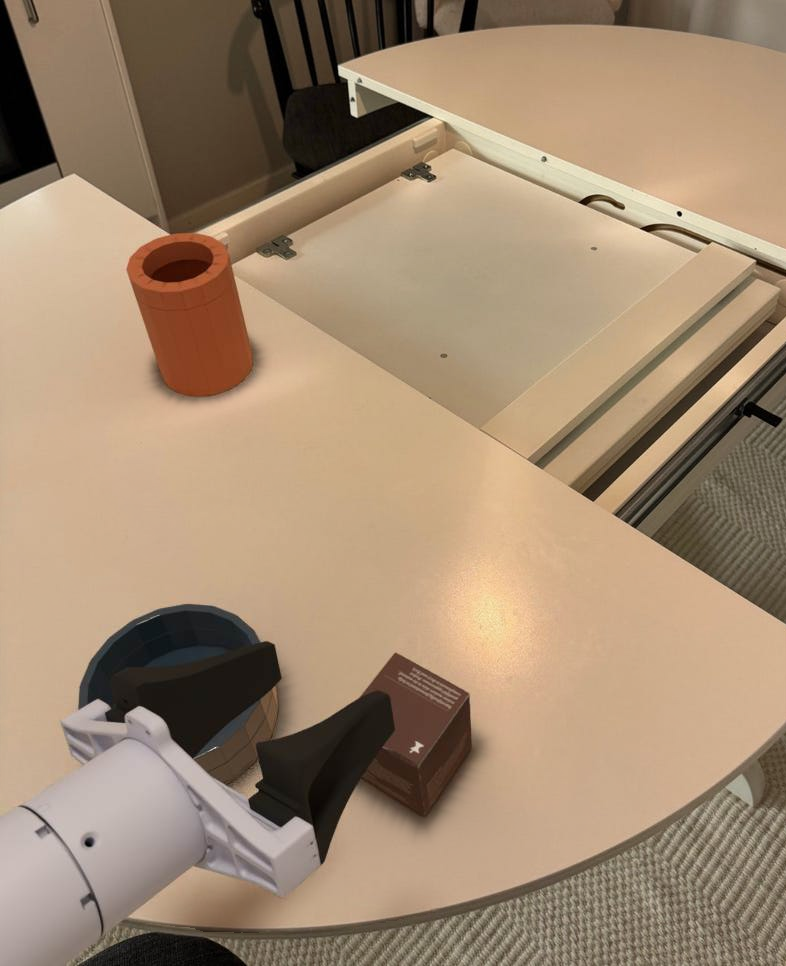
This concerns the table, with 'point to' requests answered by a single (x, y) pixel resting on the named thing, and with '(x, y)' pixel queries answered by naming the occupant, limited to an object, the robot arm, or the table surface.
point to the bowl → (177, 642)
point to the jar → (192, 312)
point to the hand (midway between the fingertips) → (327, 683)
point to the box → (419, 733)
